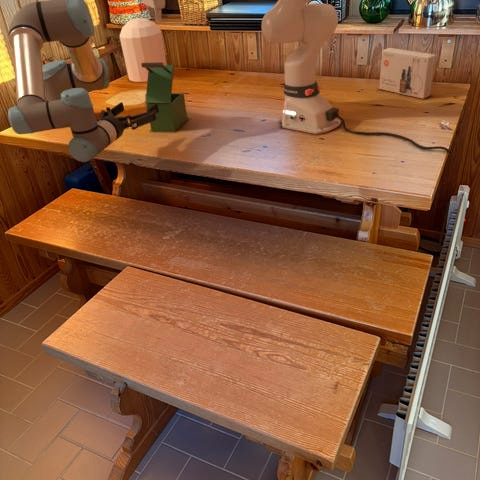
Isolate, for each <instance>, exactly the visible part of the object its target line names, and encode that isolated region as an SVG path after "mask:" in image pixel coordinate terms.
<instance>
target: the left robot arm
mask: <svg viewBox="0 0 480 480" xmlns="http://www.w3.org/2000/svg"><path fill="white" fill-rule="evenodd" d="M95 31H96V30H95V24H94V21H93V17H92V15H91V12H90V8H89V6H88V4H87V2H86V1H85V0H41V1H31V2H28V3H26V4H25V5H23V6H22V7H20V9H19V10H17V12H16V13H15V14H14V16H13V17H12V20H11V22H10V24H9V27H8V42H9V45H10V46H11V48H12V49H13V51H12V52H13V62H14V63H13V64H14V65H13V66H14V77H15V78H14V79H15V93H16V95H15V96H16V104H17V105H13V106H11V107H9V108H8V110H7V117H8V121H9V125H10V127H11V129H12V131H13V132H14V133H15V134H17V135H28V134H29V135H31V134H35V133H40V132H46V131H51V130H57V129H58V130H59V129H63V128H70V131H71V134H72V138H71V139H70V140H69V142H68V144H67V145H68V147H67V149H68V151H69V154H70V156H71V157H72V158H73V159H74V160H76V161H78V162H80V163H87V162H89V161H91V160H92V159H94V158H96V157H98V155H99V154H101V153H102V152H103V151H104V150H105V149H107V148H108V147H109V146H110V145H111V144H112V145H113V143H114V142H116V141H117V140H119V139H120V138H121V137H123V134H124V132H125V130H126V129H128V128H131V130H133V131H134V130H137V129H138V128H141V127H142V126H143V127H144V126H145V125H147V124H150V122H153V121H155V120H157V119H156V114H157V113H158V112H159V108H158V104H155V105H153V106H152V107H151V108H149V109H148V110H147V109H146V111H145V112H142V113H138V114H134V115H131V114H128V115H125V116H122V115H121V116H118V115H120V114H121V113H122V112H124V111H125V107H124V103H123V102H119V103H118V104H116V105H115V106H113V107H105V109H102V110H100V114H99V116H98V118H97V117H96V113H95V110H94V109H95V108H94V105H93V103H92V100H91V97H90V94H89V92H95V91H103V90H105V89H108V88H109V87H110V78H109V72H108V67H107V63H106V60H105V58H99V57H98V56H97V55H95V51H94V48H93V46H92V44H91V40H90V38H91V37H93V36H94V35H95ZM52 42H59V43H60V45H62V46H63V47H65V49H66V51H67V53H68V55H69V57H70V59H71V61H72V62H69V63H67V61H66V60H65V59H57V60H53V61H51V62H48V63H45V64H43V60H42V59H43V58H42V49H43V47H44V44H45V43H52Z"/></svg>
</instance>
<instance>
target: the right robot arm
mask: <svg viewBox="0 0 480 480" xmlns="http://www.w3.org/2000/svg"><path fill="white" fill-rule="evenodd" d="M311 1H312V0H277V1H276V3H275V4H274V5H273V6H272V7H271V8H270V9H269V10H268V11H266V12H265V13H264V15H263V17H262V20H261V27H260V28H261V33H262V35H263V37H264V39H265V40H266V41H267V42H268V43H270V44H280V45H282V44H283V45H284V44H290V43H297V42H299V45H298V47H297V48H296V49H295V50H294V51H293V52H291V53H290V54H288V56H287V57H286V58H285V60H284V62H283V67H284V68H283V69H284V82H283V89H282V90H283V94H284V103H283V110H282V116H281V120H280V121H281V128H282V129H288V130H292V131H298V132H303V133H309V134H313V135H314V134H315V135H319V134H324V133H328V132H331V131H332V130H335V129H337V128H338V127H339V126H340V125H341V124H342V127H343V130H344V131H345V132H348V133H352V134H354V135H356V134H357V135H358V134H359V135H383V136H384V135H385V136H392V137H396V138H399V139H402V140H405V141H408V142H410V143H411V144H413V145H414V146H416V147H417V148H420V149H423V150H443V151H446V152H447V153H448V154H452V151H451V150H450V149H448V147H444V146H441V145H440V146H439V145H438V146H424V145H420V144H418V143H417V142H416V141H414V140H412V139H411V138H409V137H406V136H404V135H400V134H397V133H392V132H384V131H383V132H381V131H376V132H375V131H374V132H371V131H370V132H369V131H353V130H349V129H348V128H347V127H346V122H345V120H344V118H342V116H340V115H339V111H340V110H339V109H340V108H338V107H334V106H333V105H332V104H331V103H330V102H329V101H328V100H327V99H326V98H325V97H324V96H323V95H322V94H321V93H320V90H321V89H322V86H323V85H322V84H320V85H319V84H318V81H317V64H318V57H319V54H320V52H321V49H322V47H323V46H324V44H325V43H326V42H327V40H328V39H329V38H330V37H332V35H333V34H334V33H335V32H336V29H337V28H338V24H339V15H338V12H337V9H336V8H335V6H334V5H333V4H329V3H320V2H317V3H310V2H311ZM141 3H142V4H143V5H145V7H146V10H147V12H148V17H149V20H155V22H156V23H162V22H163V19H162V9H165V8H166V0H141ZM450 205H451V200H448V201H447V204H446V208H445V212H444V218H443V222H442V226H441V230H440V235H439V240H438V244H437V250H436V252H437V253H439V252H440V250H441V246H442V245H441V244H442V240H443V235H444V231H445V227H446V222H447V218H448V213H449V209H450Z"/></svg>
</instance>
